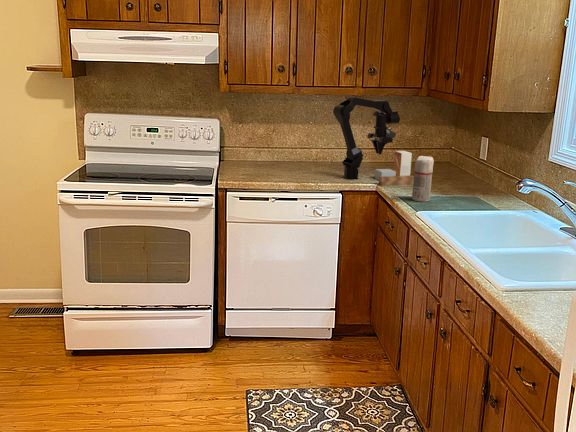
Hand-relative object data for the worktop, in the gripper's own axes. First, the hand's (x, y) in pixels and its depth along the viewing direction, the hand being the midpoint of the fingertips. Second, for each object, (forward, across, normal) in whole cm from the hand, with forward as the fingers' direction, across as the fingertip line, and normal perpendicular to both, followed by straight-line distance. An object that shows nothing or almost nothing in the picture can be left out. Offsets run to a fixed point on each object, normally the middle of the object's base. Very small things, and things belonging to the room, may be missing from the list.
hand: (378, 153), depth 331 cm
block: (+12, -9, 0) cm, 15 cm away
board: (+12, -22, 0) cm, 25 cm away
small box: (+12, -1, -14) cm, 19 cm away
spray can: (+12, -55, +5) cm, 57 cm away
